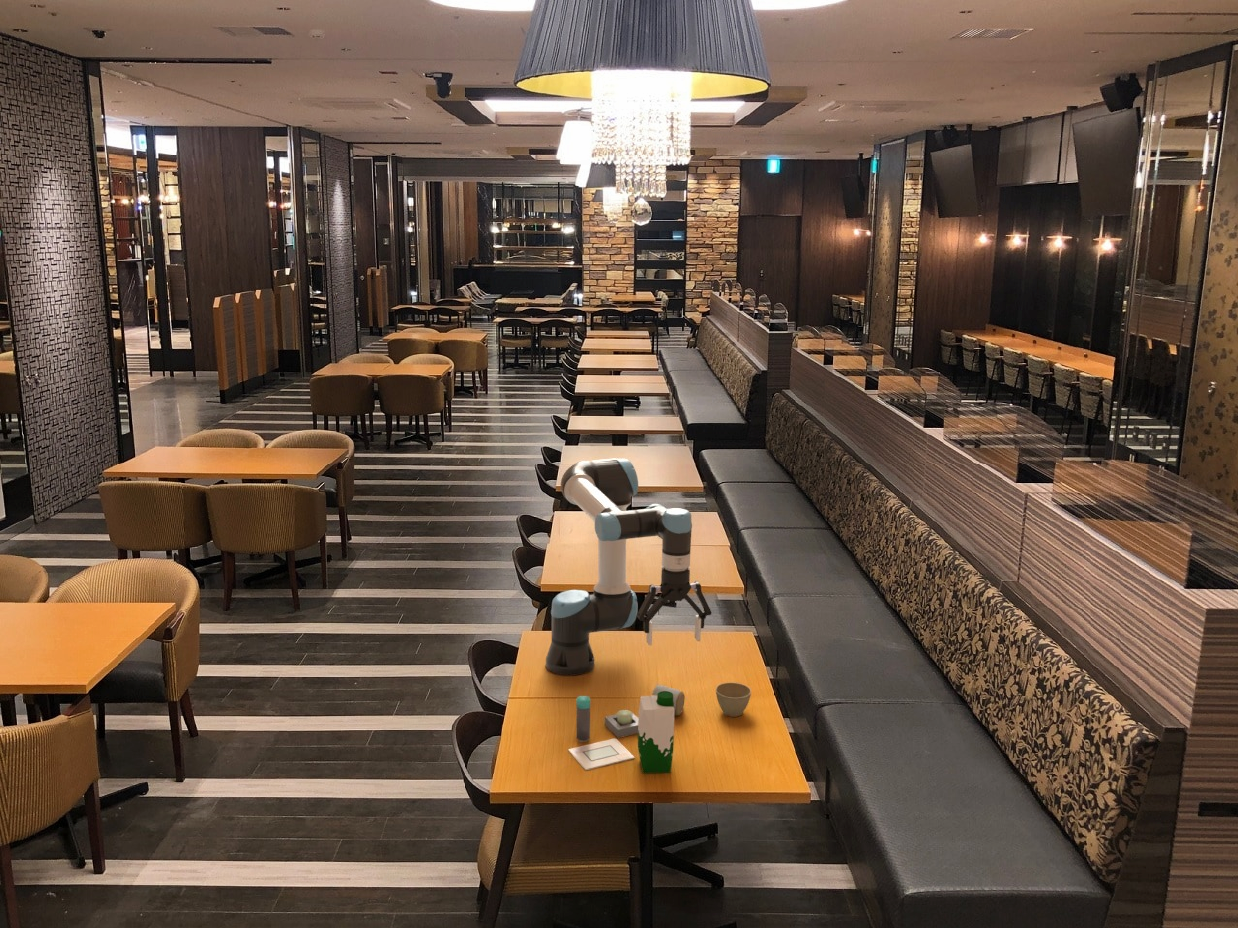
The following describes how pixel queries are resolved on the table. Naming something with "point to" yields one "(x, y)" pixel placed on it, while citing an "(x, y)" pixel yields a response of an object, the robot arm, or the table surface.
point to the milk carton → (656, 732)
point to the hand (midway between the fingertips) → (673, 641)
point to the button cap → (624, 717)
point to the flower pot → (733, 698)
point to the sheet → (600, 754)
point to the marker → (583, 718)
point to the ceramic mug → (677, 697)
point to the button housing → (622, 730)
